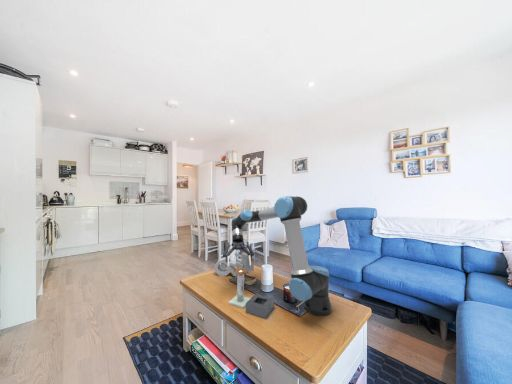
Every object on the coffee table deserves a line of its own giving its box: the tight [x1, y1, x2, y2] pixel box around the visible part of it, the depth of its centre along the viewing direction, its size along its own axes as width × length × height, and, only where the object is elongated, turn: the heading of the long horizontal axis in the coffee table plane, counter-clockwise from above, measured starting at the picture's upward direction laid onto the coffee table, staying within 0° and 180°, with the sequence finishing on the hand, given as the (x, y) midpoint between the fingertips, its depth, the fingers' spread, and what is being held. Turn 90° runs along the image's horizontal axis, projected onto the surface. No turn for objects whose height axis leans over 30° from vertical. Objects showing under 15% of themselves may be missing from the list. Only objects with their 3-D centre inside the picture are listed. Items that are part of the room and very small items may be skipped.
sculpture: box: [214, 254, 237, 277], centre depth 164 cm, size 18×6×15 cm, turn 83°
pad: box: [227, 294, 252, 309], centre depth 124 cm, size 10×10×1 cm
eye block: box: [245, 293, 275, 320], centre depth 116 cm, size 12×12×5 cm
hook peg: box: [235, 268, 247, 302], centre depth 124 cm, size 6×6×18 cm
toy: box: [235, 252, 255, 274], centre depth 161 cm, size 10×17×20 cm, turn 37°
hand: (239, 266), depth 129 cm, fingers open, 13 cm apart
